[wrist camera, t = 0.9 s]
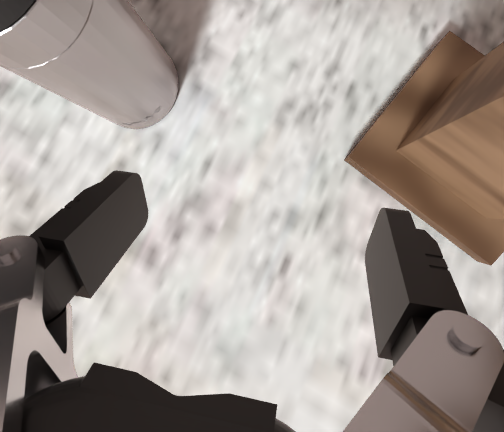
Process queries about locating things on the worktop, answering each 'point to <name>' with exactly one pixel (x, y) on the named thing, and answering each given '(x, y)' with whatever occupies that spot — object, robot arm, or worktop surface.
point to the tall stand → (446, 146)
